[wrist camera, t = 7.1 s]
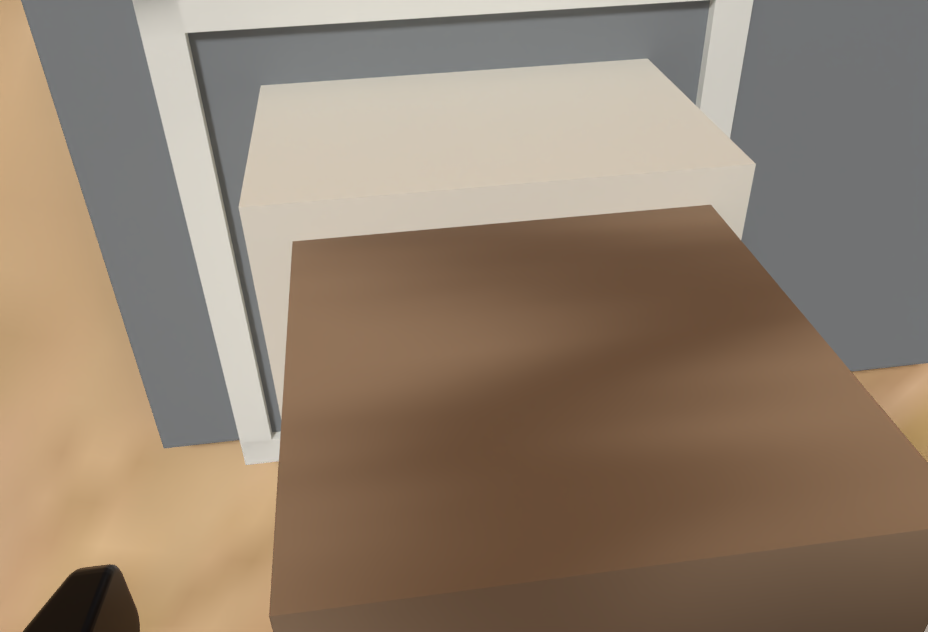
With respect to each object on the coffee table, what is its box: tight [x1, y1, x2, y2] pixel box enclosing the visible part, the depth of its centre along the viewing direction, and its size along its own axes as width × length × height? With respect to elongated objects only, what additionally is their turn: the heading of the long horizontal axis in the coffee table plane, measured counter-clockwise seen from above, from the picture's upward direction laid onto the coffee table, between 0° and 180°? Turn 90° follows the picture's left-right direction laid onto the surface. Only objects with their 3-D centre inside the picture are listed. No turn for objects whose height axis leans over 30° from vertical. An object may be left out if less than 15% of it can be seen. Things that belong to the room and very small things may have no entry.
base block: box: [239, 59, 756, 418], centre depth 13 cm, size 6×6×4 cm
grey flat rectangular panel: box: [21, 0, 928, 465], centre depth 14 cm, size 16×12×1 cm
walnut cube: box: [269, 205, 928, 632], centre depth 9 cm, size 5×5×5 cm
